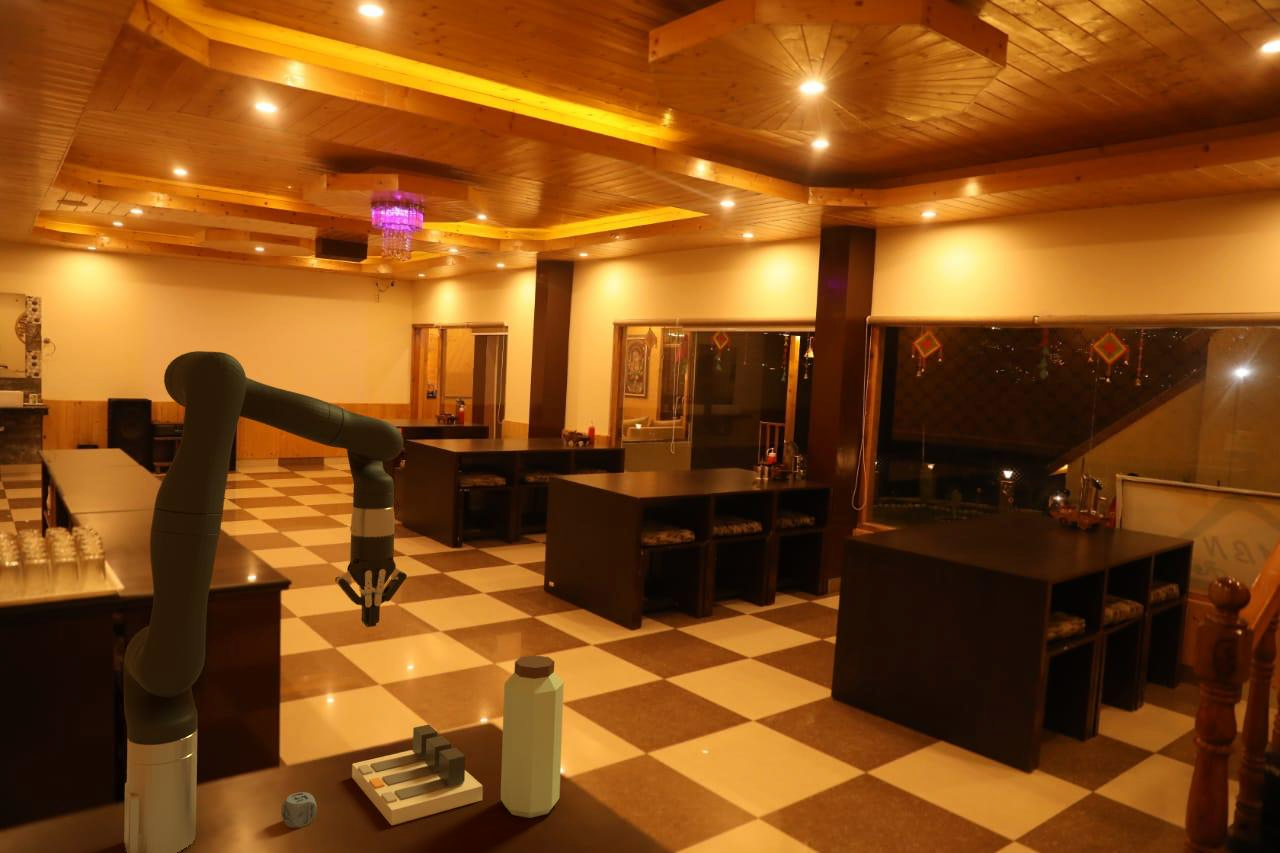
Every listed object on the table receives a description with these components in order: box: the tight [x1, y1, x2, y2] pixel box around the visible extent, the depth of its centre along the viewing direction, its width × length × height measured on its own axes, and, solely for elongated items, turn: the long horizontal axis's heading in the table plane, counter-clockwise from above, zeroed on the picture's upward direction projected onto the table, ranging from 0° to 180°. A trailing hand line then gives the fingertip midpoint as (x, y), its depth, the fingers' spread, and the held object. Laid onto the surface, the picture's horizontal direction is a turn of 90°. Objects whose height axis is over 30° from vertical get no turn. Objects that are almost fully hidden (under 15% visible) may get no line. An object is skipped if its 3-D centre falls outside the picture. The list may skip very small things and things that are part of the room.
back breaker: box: [412, 724, 438, 759], centre depth 156 cm, size 3×4×4 cm
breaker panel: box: [351, 749, 484, 826], centre depth 149 cm, size 16×20×3 cm
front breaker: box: [439, 747, 466, 786], centre depth 147 cm, size 3×4×4 cm
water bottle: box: [500, 654, 564, 819], centre depth 144 cm, size 10×10×25 cm
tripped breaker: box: [426, 735, 452, 772], centre depth 152 cm, size 3×4×4 cm
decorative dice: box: [280, 791, 318, 829], centre depth 137 cm, size 4×4×4 cm
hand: (370, 625), depth 154 cm, fingers closed
